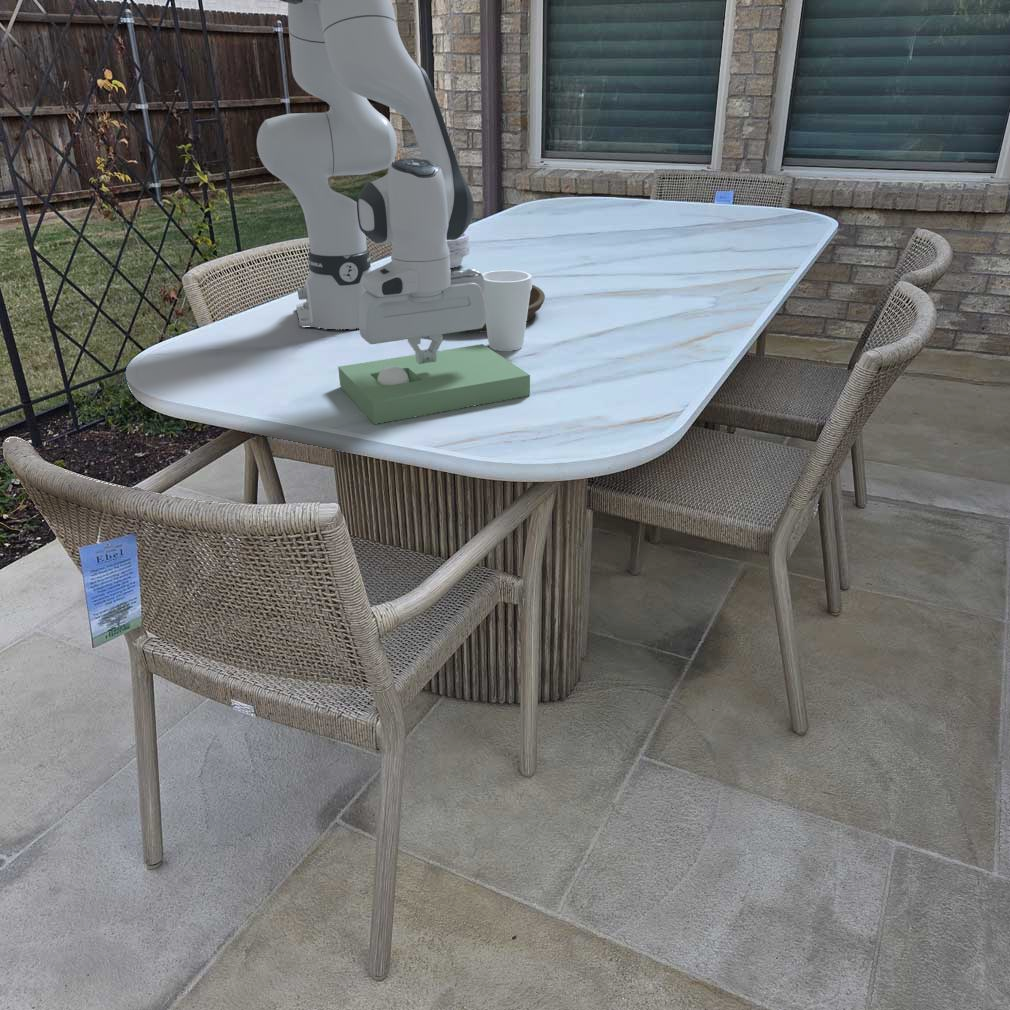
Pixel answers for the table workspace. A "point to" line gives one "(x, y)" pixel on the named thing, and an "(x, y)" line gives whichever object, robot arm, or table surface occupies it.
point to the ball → (392, 376)
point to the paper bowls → (458, 249)
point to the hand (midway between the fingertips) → (426, 362)
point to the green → (434, 383)
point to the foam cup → (506, 307)
